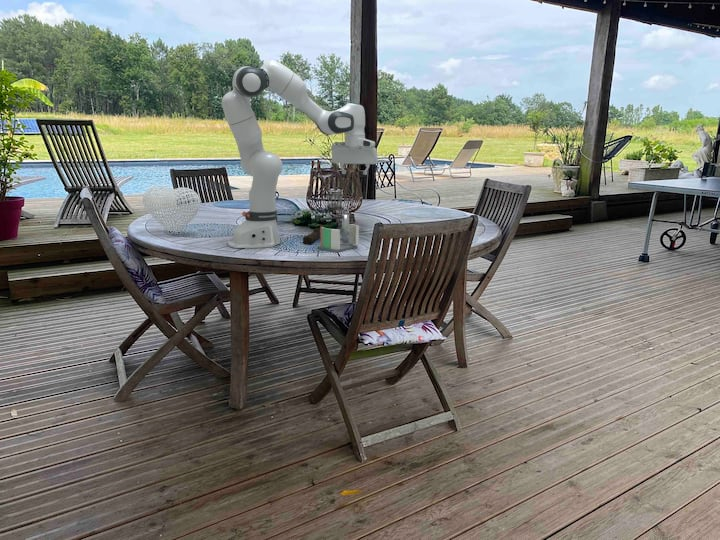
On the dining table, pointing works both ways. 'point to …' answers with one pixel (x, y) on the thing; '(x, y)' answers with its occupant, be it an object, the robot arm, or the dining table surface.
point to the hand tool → (312, 236)
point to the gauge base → (333, 241)
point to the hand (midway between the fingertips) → (354, 174)
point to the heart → (175, 192)
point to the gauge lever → (347, 229)
